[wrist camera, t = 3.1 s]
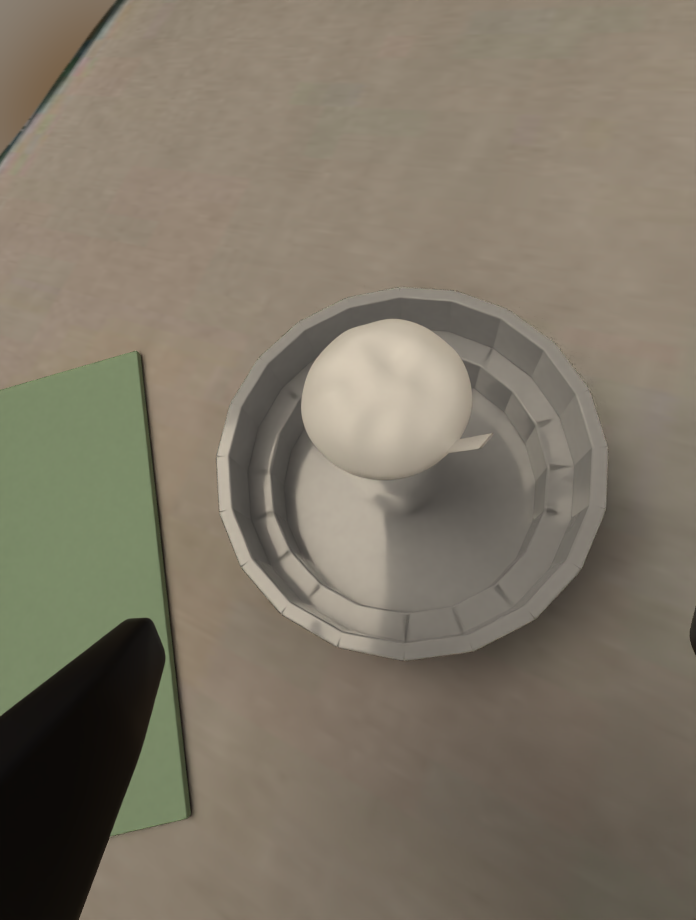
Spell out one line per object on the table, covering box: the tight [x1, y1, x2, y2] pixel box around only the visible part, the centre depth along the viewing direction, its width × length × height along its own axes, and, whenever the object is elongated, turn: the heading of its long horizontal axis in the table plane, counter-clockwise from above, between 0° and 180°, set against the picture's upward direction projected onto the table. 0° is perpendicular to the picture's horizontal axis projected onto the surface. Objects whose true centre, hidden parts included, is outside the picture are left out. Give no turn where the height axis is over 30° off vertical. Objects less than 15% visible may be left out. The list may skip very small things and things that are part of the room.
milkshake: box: [301, 319, 493, 515], centre depth 16 cm, size 4×5×10 cm
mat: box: [0, 351, 191, 836], centre depth 22 cm, size 20×13×1 cm, turn 13°
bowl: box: [216, 287, 608, 661], centre depth 19 cm, size 13×13×4 cm
